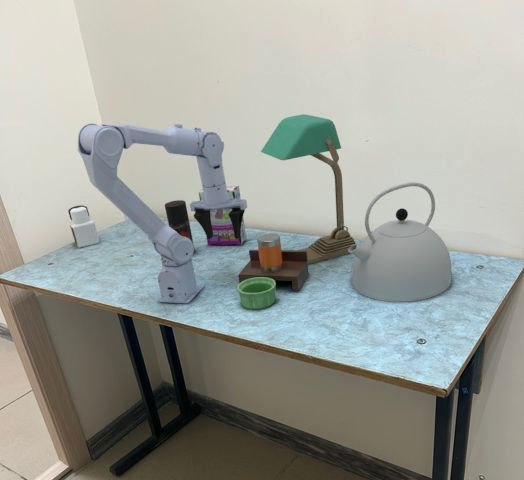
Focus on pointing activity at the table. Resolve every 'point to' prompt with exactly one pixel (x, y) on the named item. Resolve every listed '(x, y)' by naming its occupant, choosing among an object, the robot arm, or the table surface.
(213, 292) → the table surface
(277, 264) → the tin can
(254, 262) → the shelf
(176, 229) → the deodorant
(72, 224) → the white handled box
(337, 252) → the banker's lamp
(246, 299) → the ramekin
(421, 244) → the kettle
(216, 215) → the candy bar box
